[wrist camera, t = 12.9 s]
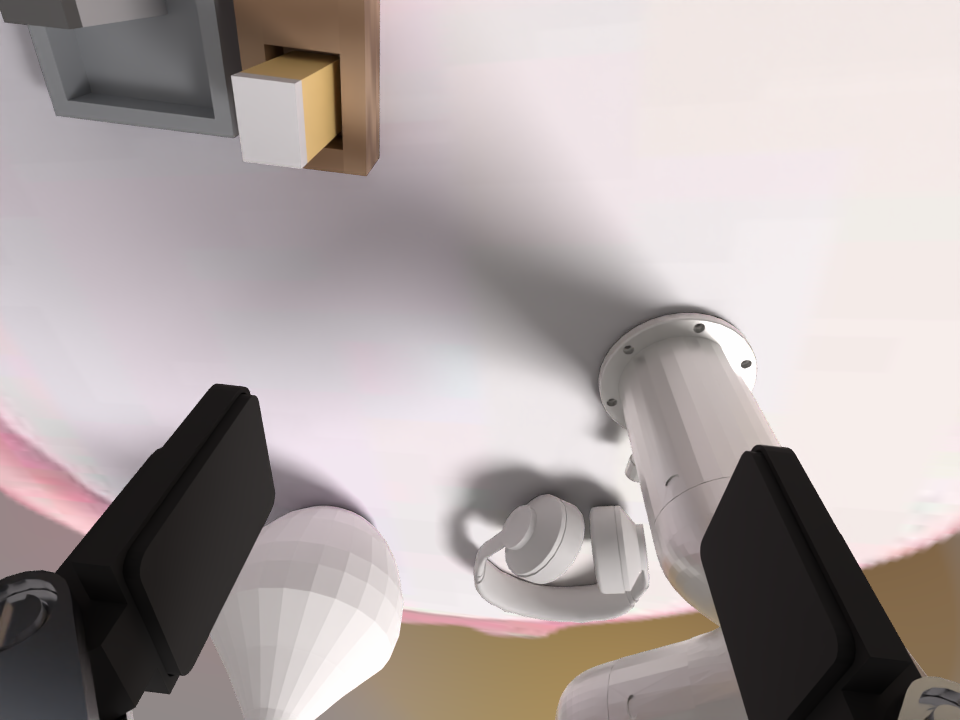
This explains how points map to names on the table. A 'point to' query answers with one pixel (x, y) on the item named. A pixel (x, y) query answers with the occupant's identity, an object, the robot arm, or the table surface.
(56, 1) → the block
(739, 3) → the table surface
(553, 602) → the headphones
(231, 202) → the table surface
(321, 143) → the block
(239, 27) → the block
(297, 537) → the vase
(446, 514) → the table surface
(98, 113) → the parts tray
